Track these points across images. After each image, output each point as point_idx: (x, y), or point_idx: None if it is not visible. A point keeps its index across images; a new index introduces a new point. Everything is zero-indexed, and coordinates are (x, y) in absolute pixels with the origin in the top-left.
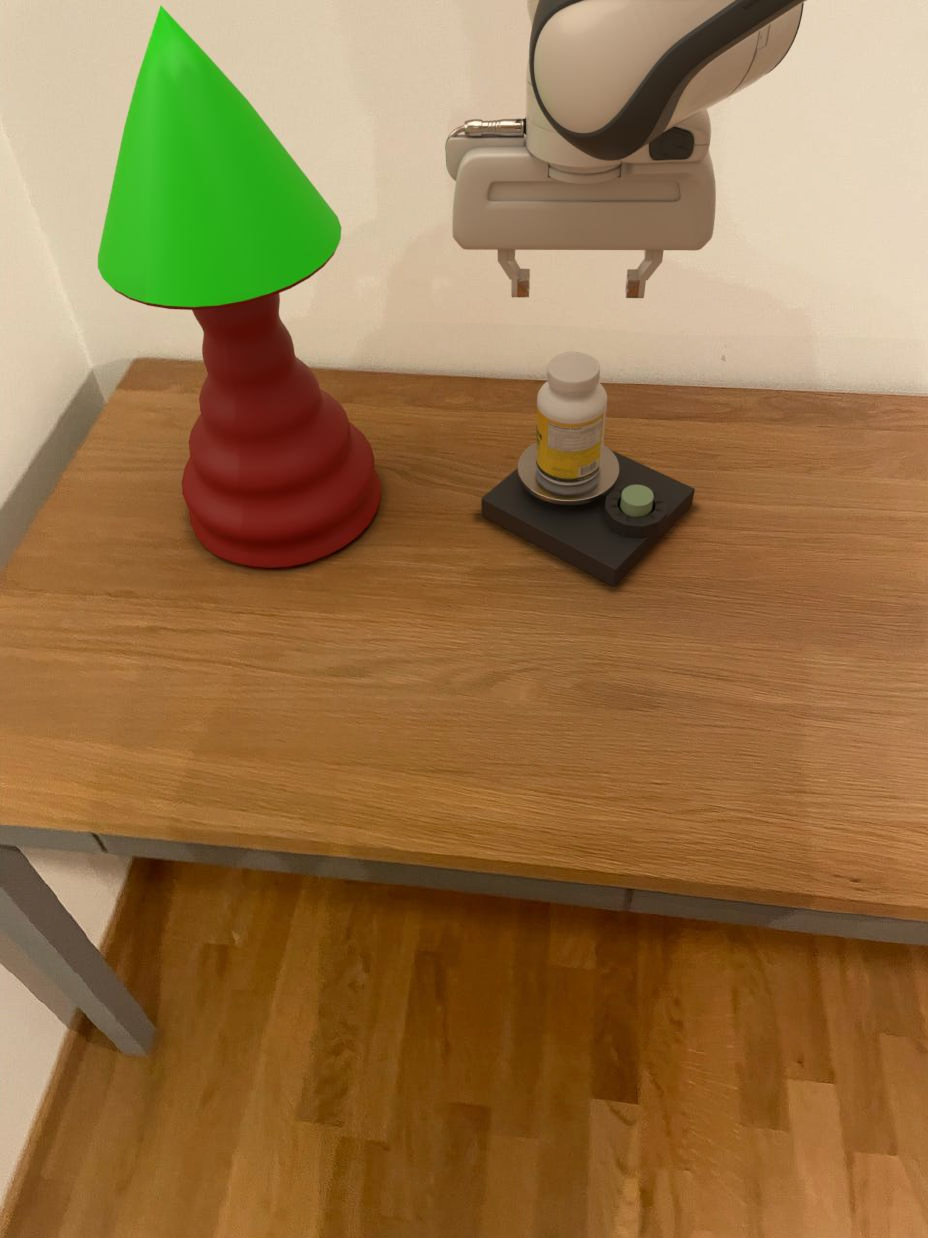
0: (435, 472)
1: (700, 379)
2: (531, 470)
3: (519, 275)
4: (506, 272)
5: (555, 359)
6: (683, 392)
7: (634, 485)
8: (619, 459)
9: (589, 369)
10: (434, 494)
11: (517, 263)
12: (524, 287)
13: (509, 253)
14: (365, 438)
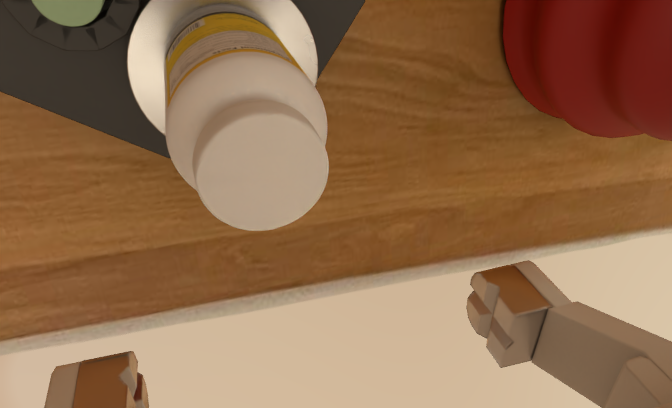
0: (424, 85)
1: (63, 343)
2: (293, 51)
3: (543, 327)
4: (609, 316)
5: (312, 193)
6: (82, 314)
7: (81, 22)
8: (142, 134)
9: (222, 172)
10: (425, 36)
11: (550, 372)
12: (511, 291)
13: (662, 381)
14: (552, 86)
